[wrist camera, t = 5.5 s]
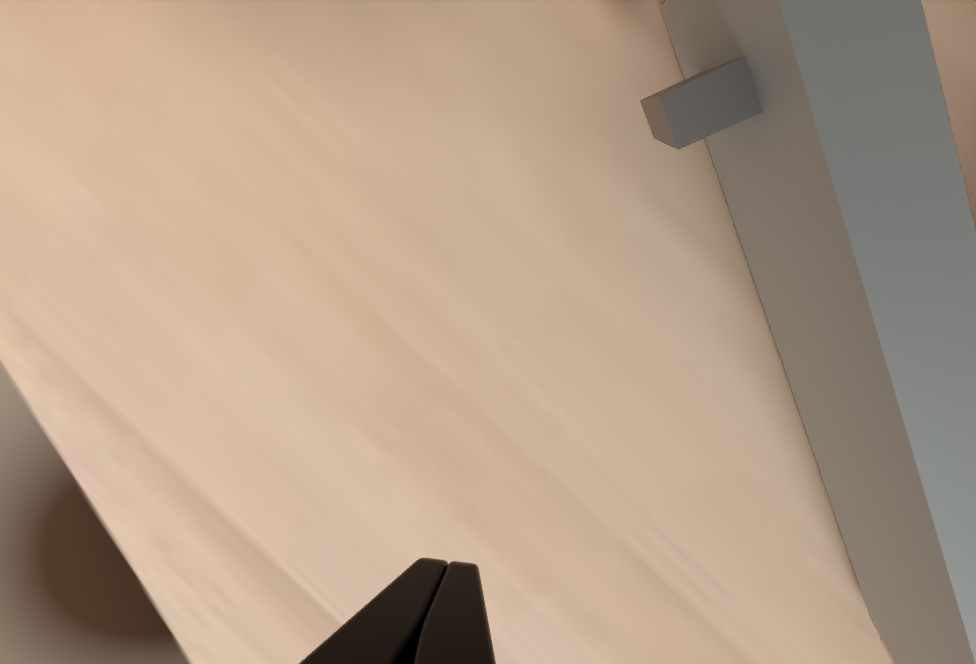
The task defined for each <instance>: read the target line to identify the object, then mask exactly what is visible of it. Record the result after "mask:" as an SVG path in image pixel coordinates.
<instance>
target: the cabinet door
mask: <svg viewBox="0 0 976 664" xmlns="http://www.w3.org/2000/svg"><path fill="white" fill-rule="evenodd" d="M660 9H661V12H662V15H663V18H664V21H665V24H666V27H667V30H668V33H669V36H670V38H671V41H672V44H673V47H674V50H675V53H676V56H677V59H678V62H679V64H680V67H681V70H682V73H683V76H684V79H685V80H683V81H681V82H679V83H677V84H675V85H673V86H671V87H668V88H666V89H664V90H662V91H660V92H658V93H656V94H654V95H651V96H649V97H647V98H645V99H643V100H641V104H642V107H643V110H644V112H645V115H646V118H647V121H648V123H649V126H650V129H651V131H652V134H653V137H654V138H655V139H657V140H659V141H661V142H663V143H665V144H668V145H670V146H672V147H674V148H676V149H680V148H683V147H685V146H687V145H689V144H692V143H694V142H696V141H699V140H701V139H703V138H705V140H706V143H707V146H708V149H709V151H710V154H711V157H712V160H713V163H714V166H715V169H716V172H717V175H718V178H719V180H720V183H721V186H722V189H723V192H724V195H725V198H726V201H727V204H728V207H729V209H730V212H731V215H732V218H733V221H734V224H735V227H736V230H737V233H738V235H739V238H740V241H741V244H742V247H743V250H744V253H745V256H746V259H747V262H748V264H749V267H750V270H751V273H752V276H753V279H754V282H755V285H756V288H757V291H758V293H759V296H760V299H761V302H762V305H763V308H764V311H765V314H766V317H767V320H768V322H769V325H770V328H771V331H772V334H773V337H774V340H775V343H776V346H777V349H778V351H779V354H780V357H781V360H782V363H783V366H784V369H785V372H786V375H787V378H788V380H789V383H790V386H791V389H792V392H793V395H794V398H795V401H796V404H797V407H798V409H799V412H800V415H801V418H802V421H803V424H804V427H805V430H806V433H807V435H808V438H809V441H810V444H811V447H812V450H813V453H814V456H815V459H816V462H817V464H818V467H819V470H820V473H821V476H822V479H823V482H824V485H825V488H826V491H827V493H828V496H829V499H830V502H831V505H832V508H833V511H834V514H835V517H836V520H837V522H838V525H839V528H840V531H841V534H842V537H843V540H844V543H845V546H846V549H847V551H848V554H849V557H850V560H851V563H852V566H853V569H854V572H855V575H856V578H857V580H858V583H859V586H860V589H861V592H862V595H863V598H864V601H865V604H866V606H867V609H868V612H869V615H870V618H871V620H872V622H873V624H874V625H875V627H876V629H877V631H878V633H879V635H880V639H881V642H882V643H883V645H884V647H885V649H886V651H887V653H888V655H889V656H890V658H891V660H892V662H893V664H976V229H975V225H974V221H973V216H972V212H971V208H970V204H969V200H968V196H967V191H966V187H965V183H964V179H963V175H962V170H961V166H960V162H959V158H958V154H957V150H956V145H955V141H954V137H953V133H952V129H951V124H950V120H949V116H948V112H947V108H946V103H945V99H944V95H943V91H942V87H941V83H940V78H939V74H938V70H937V66H936V62H935V57H934V53H933V49H932V45H931V41H930V37H929V32H928V28H927V24H926V20H925V16H924V11H923V7H922V3H921V0H665V2H664V4H663V5H662V7H661V8H660Z"/></svg>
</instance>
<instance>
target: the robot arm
mask: <svg viewBox="0 0 976 664" xmlns="http://www.w3.org/2000/svg"><path fill="white" fill-rule="evenodd" d="M299 664H496V662H495V656H494V651H493V645H492V640H491V634H490V629H489V623H488V618H487V612H486V607H485V601H484V596H483V590H482V585H481V579H480V574H479V569H478V566H477V565H476V564H473V563H465V562H456V561H453V562H451V563H449V564H448V563H447V562H446V561H445V560H440V559H431V558H420V559H418V560H417V561H416V562H414V563H413V564H412V565H411V566H410V567H409V568H408V569H406V570H405V571H404V572H403V573H402V574H401V575H400V576H398V577H397V578H396V579H395V580H394V581H393V582H392V583H390V584H389V585H388V586H387V587H386V588H385V589H384V590H383V591H381V592H380V593H379V594H378V595H377V596H376V597H375V598H373V599H372V600H371V601H370V602H369V603H368V604H367V605H365V606H364V607H363V608H362V609H361V610H360V611H359V612H357V613H356V614H355V615H354V616H353V617H352V618H351V619H349V620H348V621H347V622H346V623H345V624H344V625H343V626H341V627H340V628H339V629H338V630H337V631H336V632H335V633H333V634H332V635H331V636H330V637H329V638H328V639H327V640H325V641H324V642H323V643H322V644H321V645H320V646H319V647H317V648H316V649H315V650H314V651H313V652H312V653H311V654H309V655H308V656H307V657H306V658H305V659H304V660H303V661H301V662H300V663H299Z"/></svg>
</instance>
